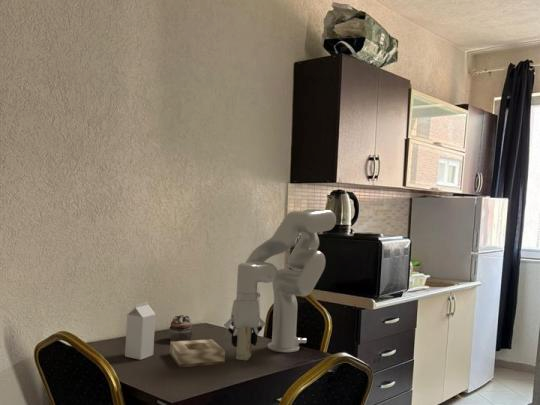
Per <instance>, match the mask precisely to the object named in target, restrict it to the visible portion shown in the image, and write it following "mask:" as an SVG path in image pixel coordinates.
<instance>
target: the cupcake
mask: <svg viewBox="0 0 540 405" xmlns="http://www.w3.org/2000/svg"><path fill="white" fill-rule="evenodd" d="M193 330H194V328H193V326H192V322H191V318H190V317H189V316H188V315H185V316H184V314H180V315H175V316H172V321H171V322H170V326H169V329H168V331H169V338H170V342H174V341H191V339H192V334H193Z"/></svg>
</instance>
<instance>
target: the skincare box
mask: <svg viewBox="0 0 540 405" xmlns="http://www.w3.org/2000/svg"><path fill="white" fill-rule="evenodd" d="M252 333H253V330H252V328H250V326H242V328H239V329H238V332H237V334H236V336H237V347H236V350H235V351H236V352H235V353H236V354H235V359H236V360H240V361H241V360H242V361H248V360H249V359H250V358H251V356H252V344H251V342H252Z"/></svg>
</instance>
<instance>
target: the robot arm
mask: <svg viewBox="0 0 540 405" xmlns="http://www.w3.org/2000/svg"><path fill="white" fill-rule="evenodd" d="M336 223H337V216H336V214H335V212H334V211H332V210H330V209H313V208H311V209H309V208H308V209H304V210H303V211H301V210H292V211H290V212H288V213H287V214H286V215H285V217H284V218H283V220H282V221H281V223H280V225H278V227H277V229H276V231H274V234H272V236H271V237H270V238H268V239H267V240H266V241H264V242H263V243H261V244H259V245H258V246H257V247H256V248H254V250H252V252H251V253H250V255H249V256H248V258H247V259H246V261H245V262H242V263H241V262H240V263H239V264H238V267H237V275H236V276H237V278H236V279H237V281H236V299H234V300H233V302H232V303H233V304H232V307H231V308H232V309H231V313H230V318H229V319H228V320H227V321H226V322H225V323H224V324H223V326H224V327H225V329H226V330H227V331H228V332H229V333H230V334H231V341H230V342H231V344H232V346H233V347H234V348H237V332H238V329H239V328H242V326H250V328H252V342H251V345H253V346H257V342H258V335H259V333H260V332H261V331H262V330H263V328H264V327H265V326H266V322H265V321H264V320H263V319H262V318H261V316H260V305H259V300H258V298H260V297H261V293H259V292H258V283H264V284H265V283H267V284H268V283H269V284H270V283H271V284H272V289H273V312H272V313H273V314H272V331H271V332H272V334H271V335H272V336H271V337H272V338H271V342H268V343H267V348H268V349H269V350H271V351H273V352H276V353H277V352H279V353H295V352H298V351H299V350H300V344H306V343H307V342H308V341H307V340H308V339H307V338H306V337H297V324H298V323H297V322H298V300H297V297H296V296H298V297H307V296H309V295H310V294H311V293H312V291H313V290H314V288H315V287H316V285H317V283H318V282H319V279H320V278H321V276H322V274H323V273H324V270H325V268H326V256H325V255H324V253H323V252H321V251H320V250H318V248H319V247H320V238H319V236H318V233H322V232H327V231H328V232H329V231H331V230H333V228H334V227H335V226H336ZM299 235H300V237H299ZM298 237H299V239H298V241H297V243H296V245H295V247H294V248H293V250H292V252H291V253H290V255H289V256H288V260H287V266H288V267H289V268H281V269H280V268H279V269H278V267H277V266H276V265H274V264H273V263H271V262H267V260H269V259H270V258H272V257H274V256H276V255H280V254H283V253H285V252H288V251H290V249H291V248H292V246H293V244H294V243H295V241H296V240H297V238H298ZM231 326H233V327H232V328H231Z"/></svg>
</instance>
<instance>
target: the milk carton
mask: <svg viewBox="0 0 540 405" xmlns="http://www.w3.org/2000/svg"><path fill="white" fill-rule="evenodd" d="M126 316H127V317H126V329H125V330H126V331H125V348H124V356H125V357H127V358H129V359H130V358H131V359H136V360H141V361H142V360H143V359H147V358H149V357H152V356H154V345H155V330H156V329H155V328H156V313H155V312H154V310H153V309H152V308H151V306H150V305H149V301H146V302H140V303H137V304H135V305H134V307H133V309H132V310H131V311H130V312H128V313H127V315H126Z"/></svg>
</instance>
